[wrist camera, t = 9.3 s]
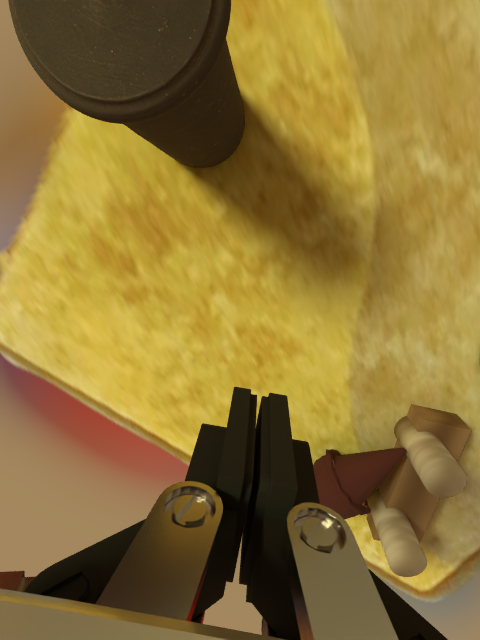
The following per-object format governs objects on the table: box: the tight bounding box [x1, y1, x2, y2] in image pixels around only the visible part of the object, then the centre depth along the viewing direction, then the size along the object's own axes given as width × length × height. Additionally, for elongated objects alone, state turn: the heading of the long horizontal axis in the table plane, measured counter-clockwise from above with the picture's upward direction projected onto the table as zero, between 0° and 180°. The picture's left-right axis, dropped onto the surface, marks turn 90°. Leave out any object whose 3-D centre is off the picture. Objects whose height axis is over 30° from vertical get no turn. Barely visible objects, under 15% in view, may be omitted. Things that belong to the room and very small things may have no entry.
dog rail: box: [367, 404, 472, 577], centre depth 37 cm, size 6×16×8 cm, turn 168°
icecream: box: [313, 447, 407, 519], centre depth 39 cm, size 7×7×15 cm
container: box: [9, 0, 245, 168], centre depth 23 cm, size 9×9×20 cm
